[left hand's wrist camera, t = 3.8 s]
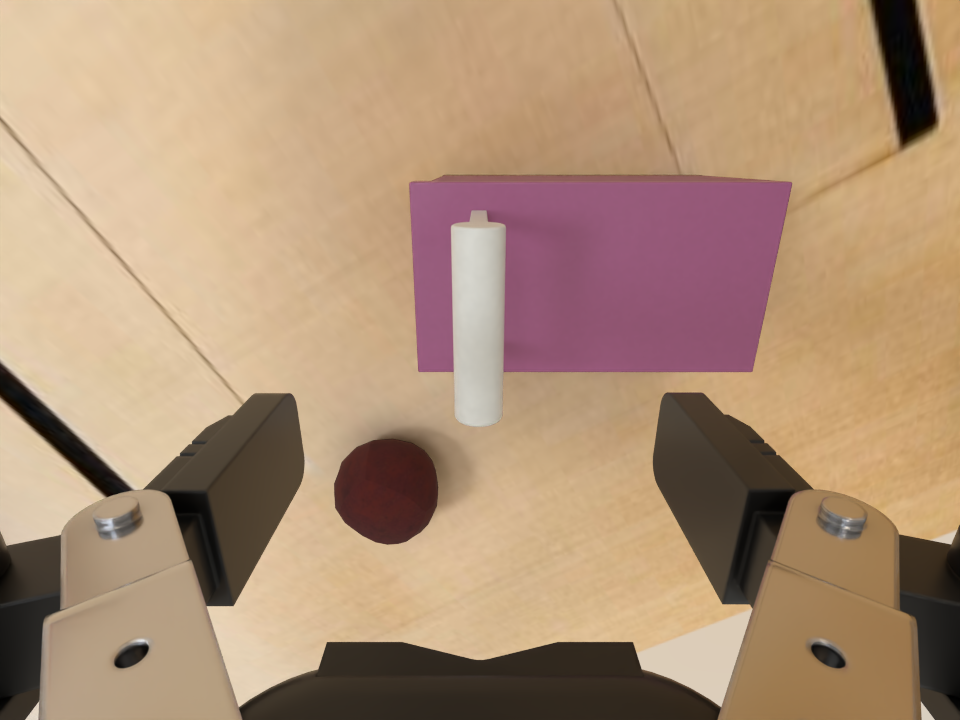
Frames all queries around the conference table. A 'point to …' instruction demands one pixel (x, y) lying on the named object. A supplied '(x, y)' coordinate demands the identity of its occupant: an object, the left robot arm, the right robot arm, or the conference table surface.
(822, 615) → the left robot arm
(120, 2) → the conference table surface
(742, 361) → the lid
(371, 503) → the potato
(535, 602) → the conference table surface
